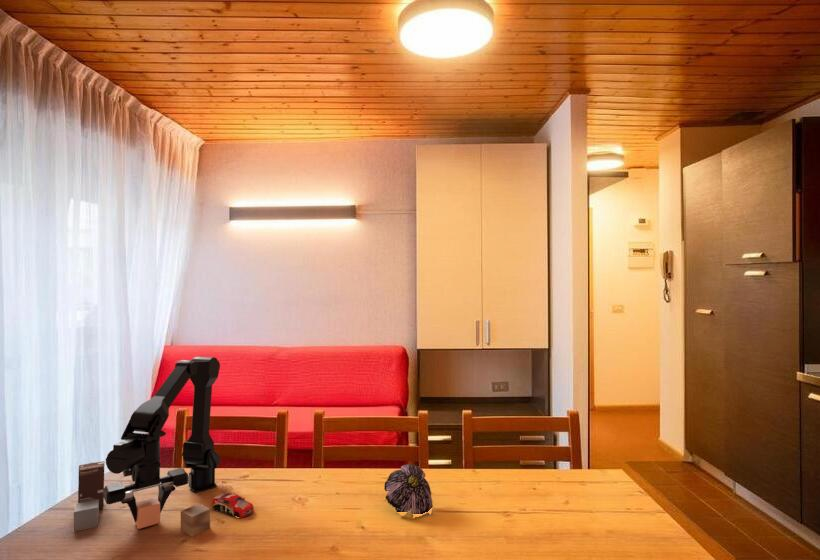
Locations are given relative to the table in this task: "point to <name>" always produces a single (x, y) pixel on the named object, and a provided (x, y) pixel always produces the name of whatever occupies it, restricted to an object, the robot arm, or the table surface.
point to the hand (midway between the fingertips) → (147, 517)
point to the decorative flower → (409, 490)
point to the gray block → (86, 515)
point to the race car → (232, 505)
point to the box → (91, 483)
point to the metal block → (195, 519)
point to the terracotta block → (147, 512)
